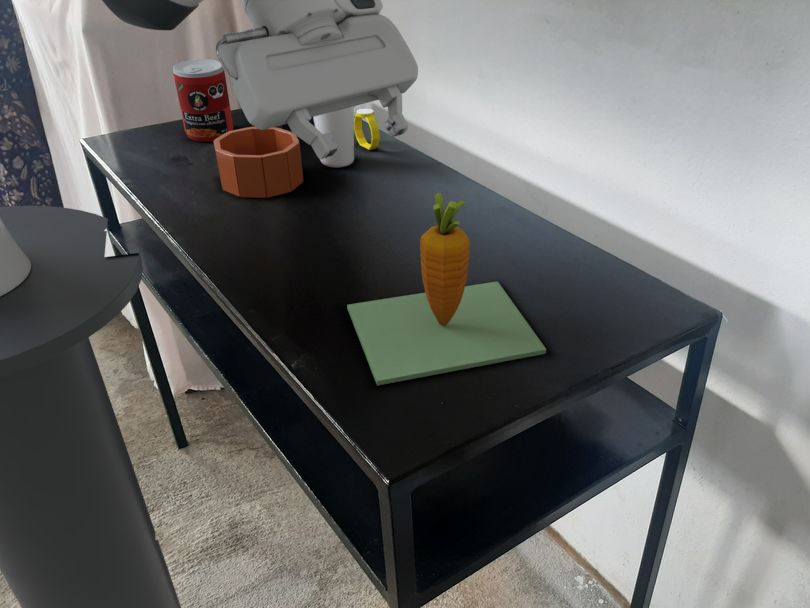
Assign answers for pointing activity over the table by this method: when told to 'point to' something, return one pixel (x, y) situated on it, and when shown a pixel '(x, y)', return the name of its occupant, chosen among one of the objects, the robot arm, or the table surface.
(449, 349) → the mat
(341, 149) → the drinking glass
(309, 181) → the table surface
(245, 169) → the pot
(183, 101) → the canned food
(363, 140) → the watch
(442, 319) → the carrot
